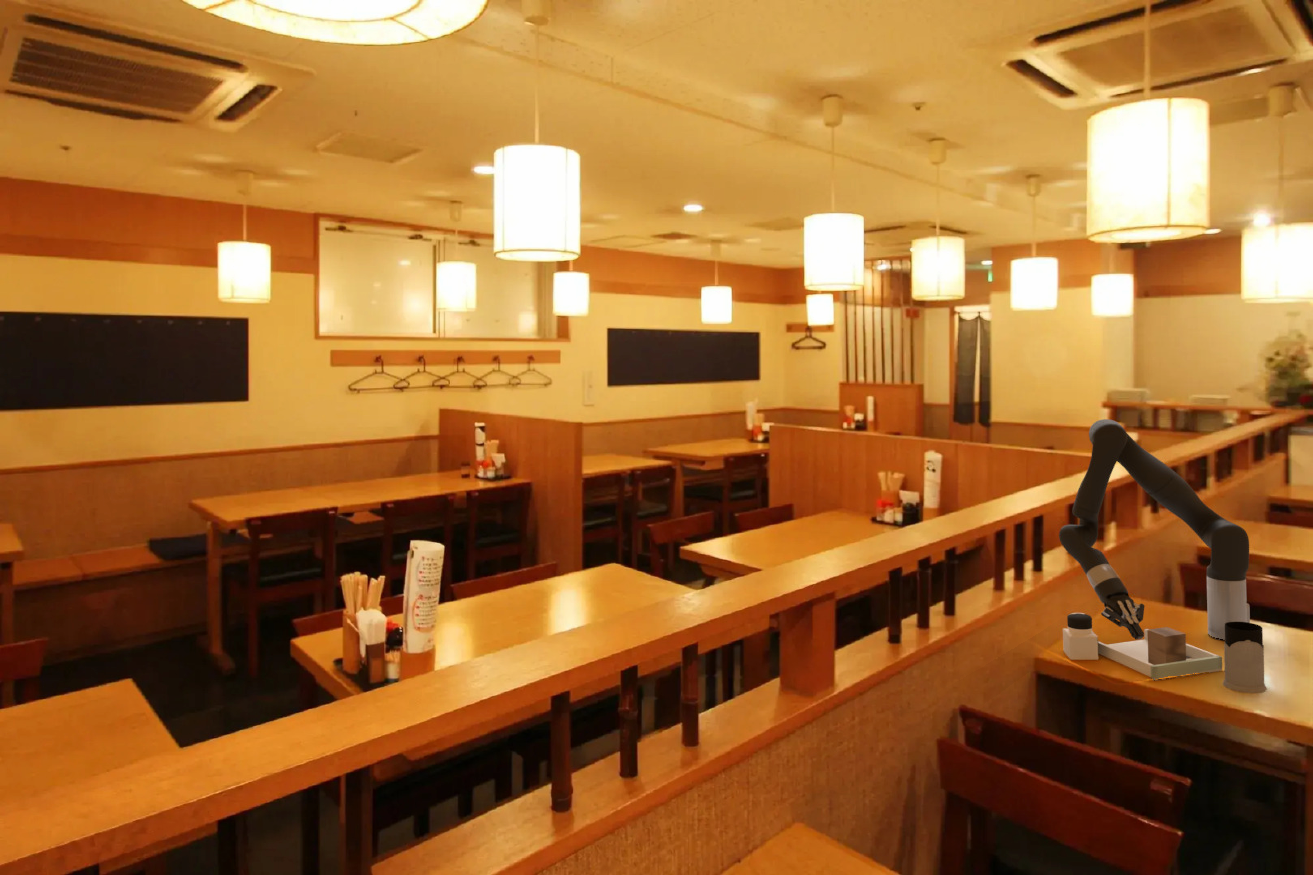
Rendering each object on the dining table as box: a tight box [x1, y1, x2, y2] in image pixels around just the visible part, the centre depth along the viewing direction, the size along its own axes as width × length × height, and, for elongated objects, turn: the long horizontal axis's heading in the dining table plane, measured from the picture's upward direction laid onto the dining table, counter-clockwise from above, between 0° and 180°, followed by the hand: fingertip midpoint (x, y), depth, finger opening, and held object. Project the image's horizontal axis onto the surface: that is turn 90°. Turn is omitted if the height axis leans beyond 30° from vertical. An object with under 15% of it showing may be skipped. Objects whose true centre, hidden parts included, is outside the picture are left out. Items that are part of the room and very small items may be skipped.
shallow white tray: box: [1098, 628, 1223, 681], centre depth 220 cm, size 20×25×4 cm
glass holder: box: [1222, 621, 1267, 694], centre depth 201 cm, size 9×14×15 cm, turn 157°
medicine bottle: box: [1062, 612, 1099, 662], centre depth 225 cm, size 7×7×12 cm
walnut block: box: [1147, 626, 1187, 665], centre depth 213 cm, size 6×6×9 cm
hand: (1140, 637), depth 223 cm, fingers closed
